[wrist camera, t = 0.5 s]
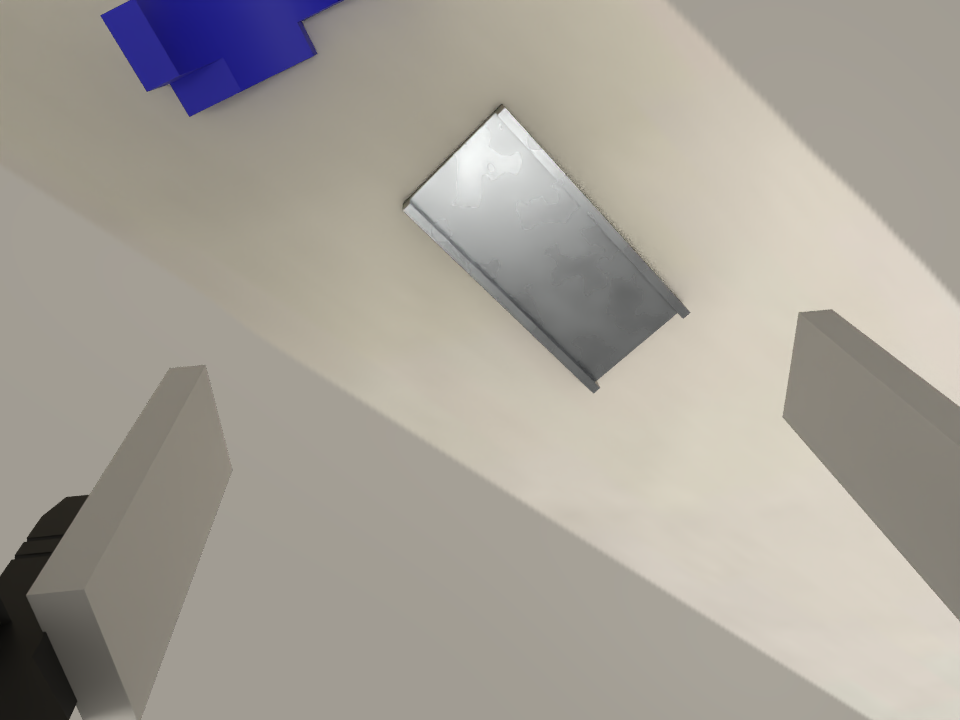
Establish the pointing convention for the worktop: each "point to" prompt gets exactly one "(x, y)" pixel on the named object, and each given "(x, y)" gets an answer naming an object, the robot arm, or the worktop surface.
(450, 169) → the rail
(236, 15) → the cable clip
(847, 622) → the worktop surface
